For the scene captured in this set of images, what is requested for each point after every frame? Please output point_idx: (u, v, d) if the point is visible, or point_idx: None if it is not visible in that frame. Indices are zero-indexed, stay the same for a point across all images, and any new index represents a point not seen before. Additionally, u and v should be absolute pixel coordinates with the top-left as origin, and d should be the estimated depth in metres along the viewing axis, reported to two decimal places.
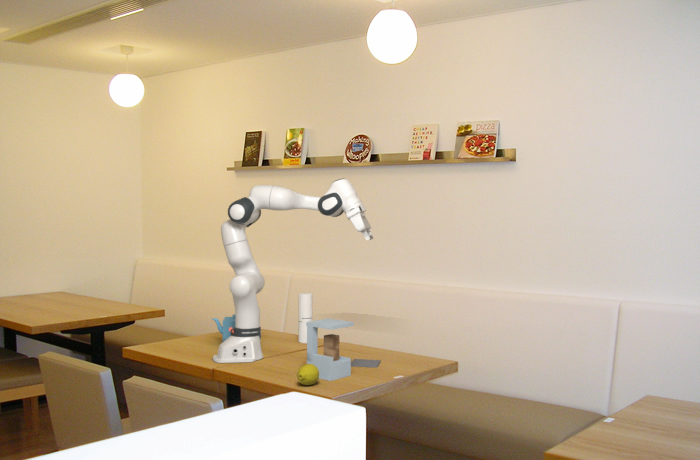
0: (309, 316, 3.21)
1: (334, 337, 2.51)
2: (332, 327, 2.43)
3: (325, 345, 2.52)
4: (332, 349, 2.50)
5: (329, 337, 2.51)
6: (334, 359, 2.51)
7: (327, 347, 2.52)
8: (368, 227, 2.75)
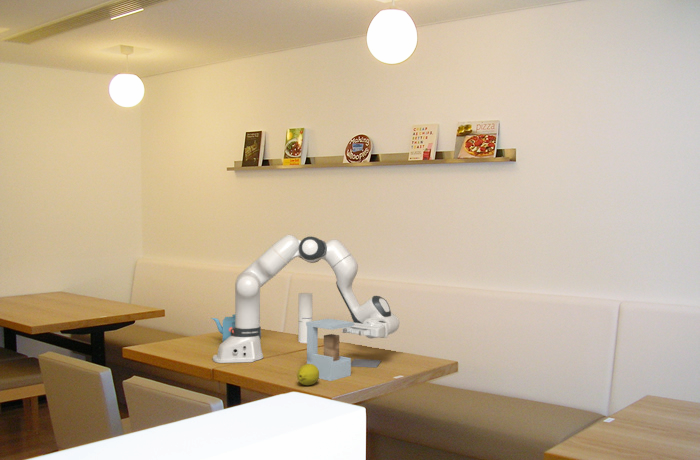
0: (309, 316, 3.21)
1: (334, 337, 2.51)
2: (332, 327, 2.43)
3: (325, 345, 2.52)
4: (332, 349, 2.50)
5: (329, 337, 2.51)
6: (334, 359, 2.51)
7: (327, 347, 2.52)
8: (358, 334, 2.67)
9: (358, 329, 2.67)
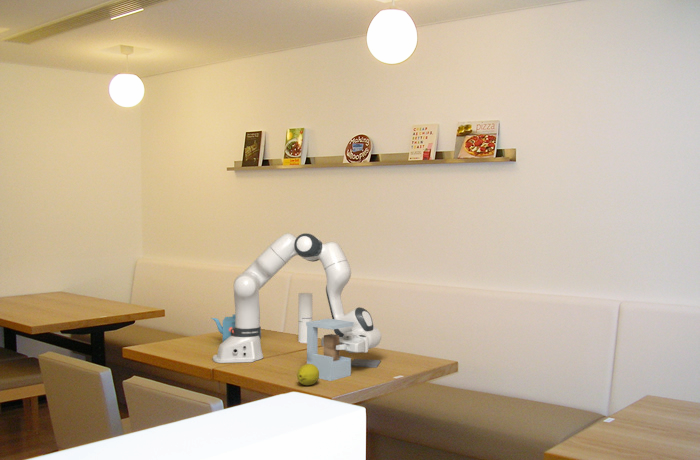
0: (309, 316, 3.21)
1: (334, 337, 2.51)
2: (332, 327, 2.43)
3: (325, 345, 2.52)
4: (332, 349, 2.50)
5: (329, 337, 2.51)
6: (334, 359, 2.51)
7: (327, 347, 2.52)
8: None
9: None
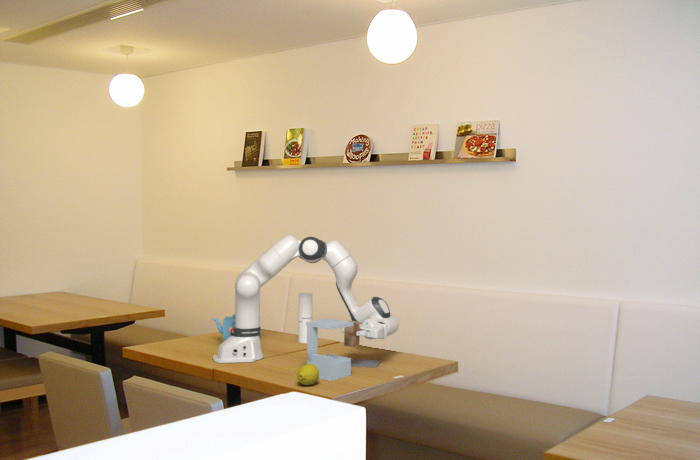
0: (309, 316, 3.21)
1: (355, 323, 2.61)
2: (332, 327, 2.43)
3: (346, 331, 2.62)
4: (353, 334, 2.60)
5: None
6: (354, 345, 2.61)
7: (348, 333, 2.62)
8: None
9: None
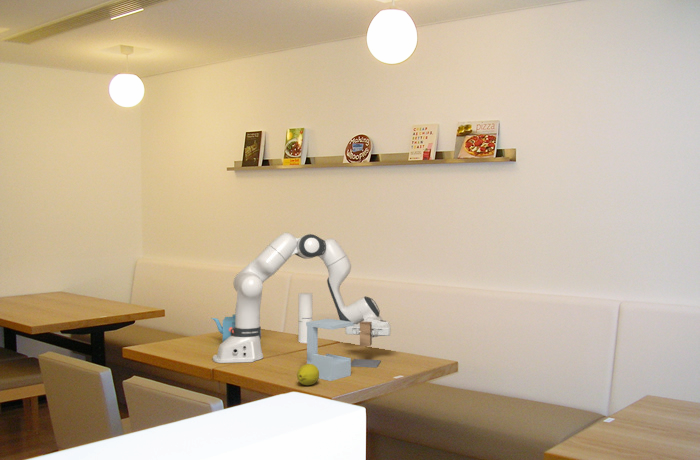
0: (309, 316, 3.21)
1: (370, 323, 2.72)
2: (332, 327, 2.43)
3: (362, 332, 2.72)
4: (370, 334, 2.71)
5: (367, 324, 2.71)
6: (370, 344, 2.73)
7: (364, 333, 2.71)
8: None
9: None
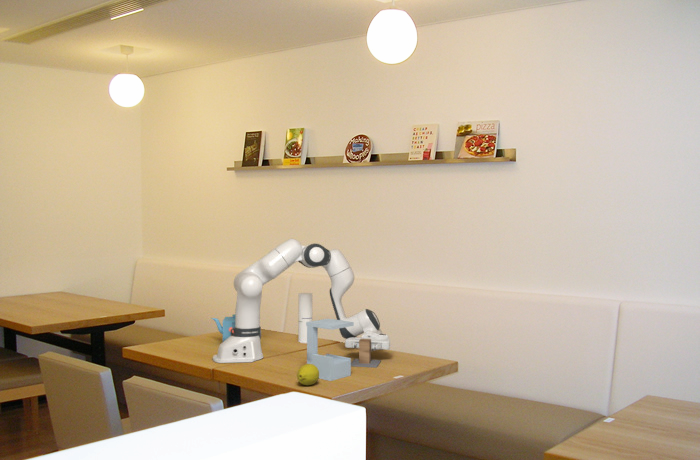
0: (309, 316, 3.21)
1: (370, 341, 2.72)
2: (332, 327, 2.43)
3: (361, 349, 2.72)
4: (369, 352, 2.71)
5: (366, 341, 2.71)
6: (369, 361, 2.73)
7: (363, 351, 2.71)
8: None
9: None
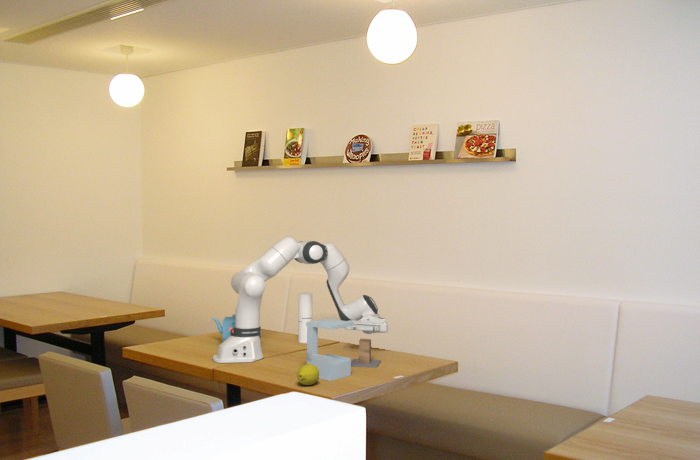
0: (309, 316, 3.21)
1: (370, 341, 2.72)
2: (332, 327, 2.43)
3: (361, 349, 2.72)
4: (369, 352, 2.71)
5: (366, 341, 2.71)
6: (369, 361, 2.73)
7: (363, 351, 2.71)
8: (364, 330, 2.91)
9: (364, 325, 2.91)
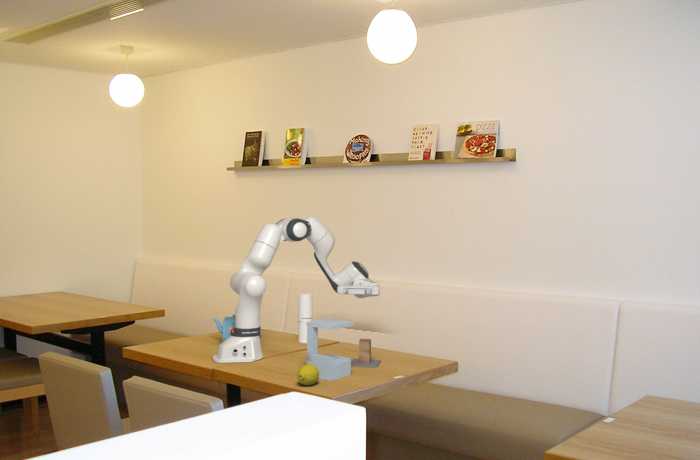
0: (309, 316, 3.21)
1: (370, 341, 2.72)
2: (332, 327, 2.43)
3: (361, 349, 2.72)
4: (369, 352, 2.71)
5: (366, 341, 2.71)
6: (369, 361, 2.73)
7: (363, 351, 2.71)
8: (356, 294, 2.92)
9: (356, 289, 2.92)
